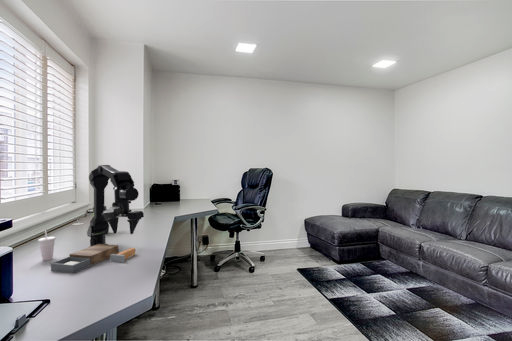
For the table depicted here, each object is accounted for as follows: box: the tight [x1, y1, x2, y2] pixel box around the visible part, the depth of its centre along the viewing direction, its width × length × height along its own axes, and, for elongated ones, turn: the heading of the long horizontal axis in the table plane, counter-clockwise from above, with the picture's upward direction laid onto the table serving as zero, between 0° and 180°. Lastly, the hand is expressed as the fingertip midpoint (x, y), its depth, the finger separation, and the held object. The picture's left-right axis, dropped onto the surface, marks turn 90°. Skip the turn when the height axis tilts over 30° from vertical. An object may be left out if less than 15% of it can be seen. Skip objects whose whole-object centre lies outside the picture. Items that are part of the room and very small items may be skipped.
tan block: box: [68, 243, 120, 266], centre depth 119 cm, size 15×12×4 cm
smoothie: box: [37, 229, 56, 261], centre depth 120 cm, size 6×6×14 cm
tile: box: [65, 261, 80, 265], centre depth 108 cm, size 5×5×2 cm
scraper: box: [109, 247, 136, 263], centre depth 119 cm, size 10×7×3 cm
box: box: [50, 256, 92, 274], centre depth 108 cm, size 8×12×3 cm, turn 74°
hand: (123, 233), depth 118 cm, fingers open, 9 cm apart
